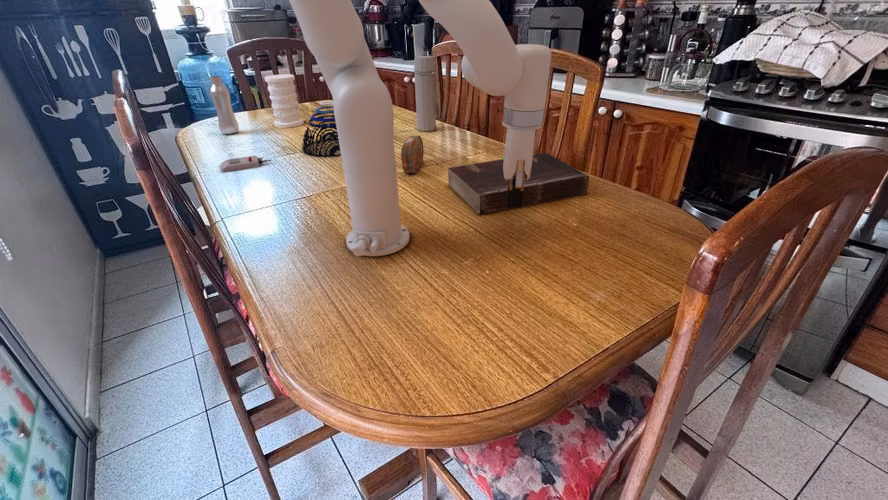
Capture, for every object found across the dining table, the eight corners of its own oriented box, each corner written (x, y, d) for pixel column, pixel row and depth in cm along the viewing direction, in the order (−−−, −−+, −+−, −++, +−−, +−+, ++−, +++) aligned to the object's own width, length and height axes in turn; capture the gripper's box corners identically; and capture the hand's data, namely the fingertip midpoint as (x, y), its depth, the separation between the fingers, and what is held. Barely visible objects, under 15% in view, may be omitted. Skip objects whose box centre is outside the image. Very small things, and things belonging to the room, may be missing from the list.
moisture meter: (215, 166, 125) (212, 157, 124) (270, 158, 131) (267, 149, 130) (215, 173, 120) (212, 163, 119) (272, 164, 126) (270, 155, 124)
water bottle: (413, 131, 154) (409, 58, 142) (421, 126, 161) (417, 55, 148) (437, 133, 152) (435, 58, 139) (443, 127, 159) (442, 55, 146)
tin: (411, 177, 114) (409, 147, 110) (400, 177, 115) (398, 146, 110) (424, 159, 127) (423, 132, 122) (414, 159, 127) (413, 131, 123)
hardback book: (480, 215, 93) (480, 194, 90) (448, 186, 108) (448, 167, 106) (586, 194, 102) (589, 174, 99) (543, 170, 117) (545, 152, 114)
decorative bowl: (370, 151, 135) (365, 105, 127) (306, 160, 129) (297, 112, 121) (357, 136, 151) (352, 94, 143) (301, 143, 145) (292, 100, 137)
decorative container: (297, 119, 175) (288, 73, 166) (308, 124, 167) (299, 76, 158) (269, 124, 169) (258, 76, 160) (280, 129, 161) (269, 79, 152)
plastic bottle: (221, 132, 159) (204, 76, 149) (240, 130, 162) (225, 74, 151) (221, 136, 154) (204, 78, 144) (240, 134, 156) (225, 77, 146)
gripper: (501, 108, 85) (495, 192, 94) (504, 126, 72) (496, 221, 82) (539, 109, 85) (528, 193, 94) (548, 128, 72) (535, 223, 81)
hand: (513, 206), depth 88 cm, fingers closed
